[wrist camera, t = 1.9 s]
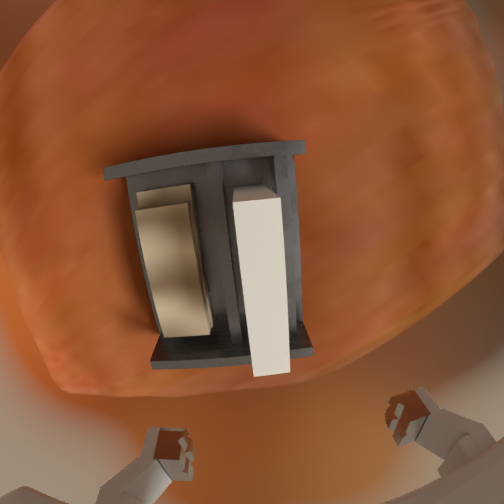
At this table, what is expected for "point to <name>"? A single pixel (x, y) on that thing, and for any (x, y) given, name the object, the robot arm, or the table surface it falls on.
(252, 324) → the cream slab
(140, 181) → the rack
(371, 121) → the table surface
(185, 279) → the offcut stack
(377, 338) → the table surface
